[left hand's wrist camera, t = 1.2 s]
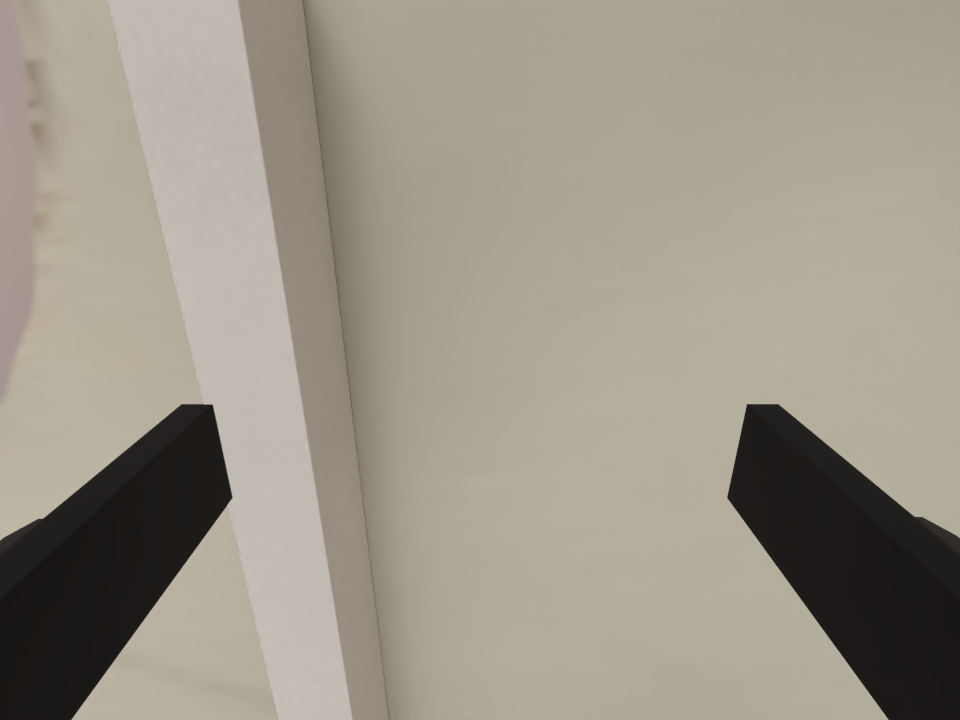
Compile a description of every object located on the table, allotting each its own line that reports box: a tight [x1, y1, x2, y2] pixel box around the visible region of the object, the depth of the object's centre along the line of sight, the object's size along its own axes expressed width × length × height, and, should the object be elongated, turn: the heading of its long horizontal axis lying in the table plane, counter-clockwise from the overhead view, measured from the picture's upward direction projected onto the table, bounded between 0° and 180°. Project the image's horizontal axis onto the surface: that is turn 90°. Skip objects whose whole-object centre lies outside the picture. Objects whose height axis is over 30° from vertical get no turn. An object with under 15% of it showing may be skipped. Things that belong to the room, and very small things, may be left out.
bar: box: [107, 0, 389, 720], centre depth 34 cm, size 71×5×8 cm, turn 1°
